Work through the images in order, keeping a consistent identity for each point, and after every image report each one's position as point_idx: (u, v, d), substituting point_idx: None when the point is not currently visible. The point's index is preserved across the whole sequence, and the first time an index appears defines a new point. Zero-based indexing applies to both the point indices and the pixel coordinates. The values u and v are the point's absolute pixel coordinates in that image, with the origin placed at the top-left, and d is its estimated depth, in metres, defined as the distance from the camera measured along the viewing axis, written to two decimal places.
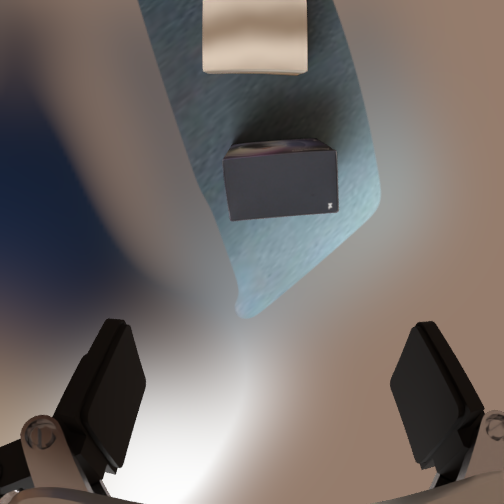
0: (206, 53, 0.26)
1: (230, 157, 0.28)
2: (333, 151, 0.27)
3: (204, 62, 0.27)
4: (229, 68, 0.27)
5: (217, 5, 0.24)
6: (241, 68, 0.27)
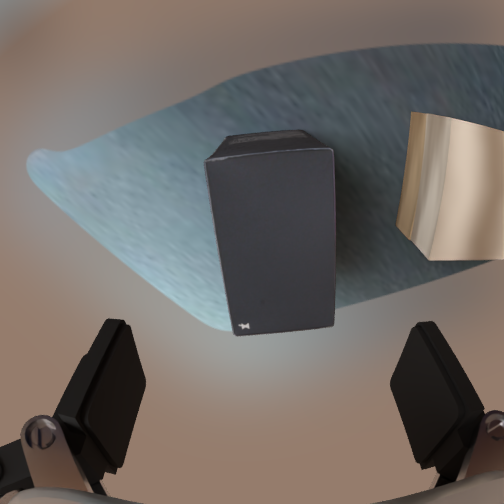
0: (471, 128, 0.16)
1: (333, 162, 0.14)
2: (332, 323, 0.18)
3: (461, 122, 0.16)
4: (449, 156, 0.17)
5: None
6: (446, 173, 0.17)
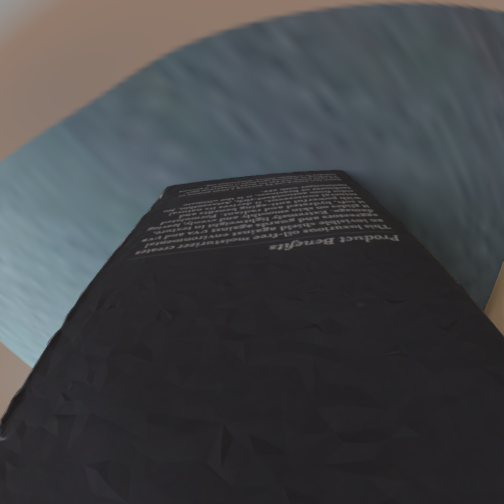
0: None
1: None
2: None
3: None
4: None
5: None
6: None
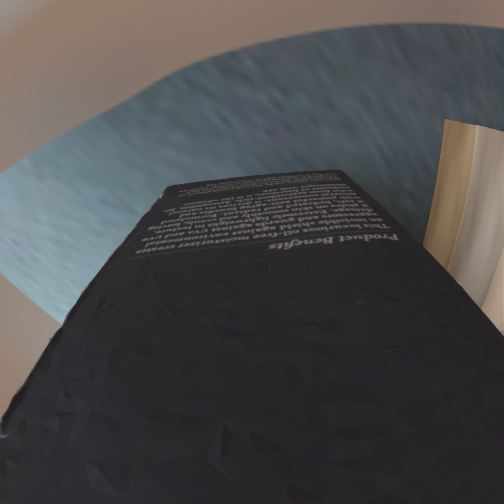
0: None
1: None
2: None
3: None
4: None
5: None
6: None
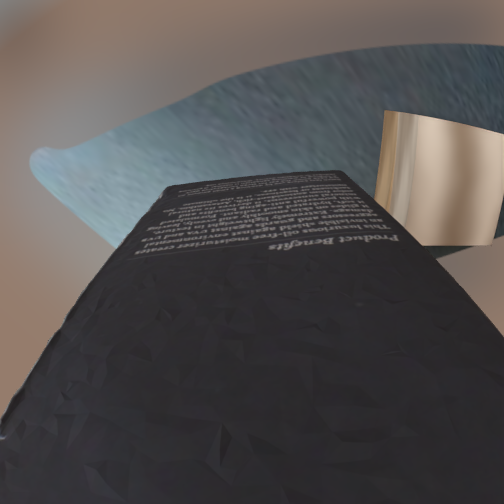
0: (439, 123, 0.19)
1: None
2: None
3: (428, 119, 0.18)
4: (417, 150, 0.20)
5: (488, 148, 0.19)
6: (415, 165, 0.20)
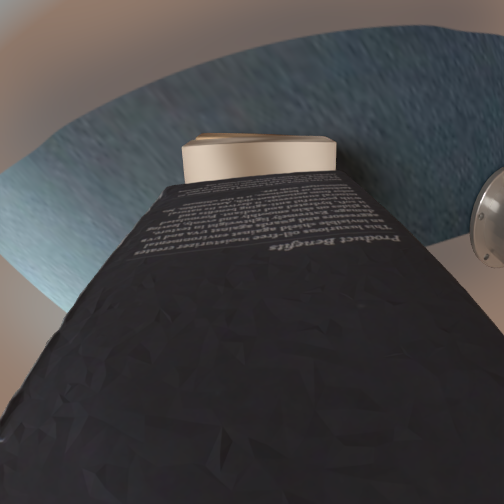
0: (209, 150, 0.20)
1: None
2: None
3: (195, 148, 0.20)
4: None
5: (293, 163, 0.20)
6: None
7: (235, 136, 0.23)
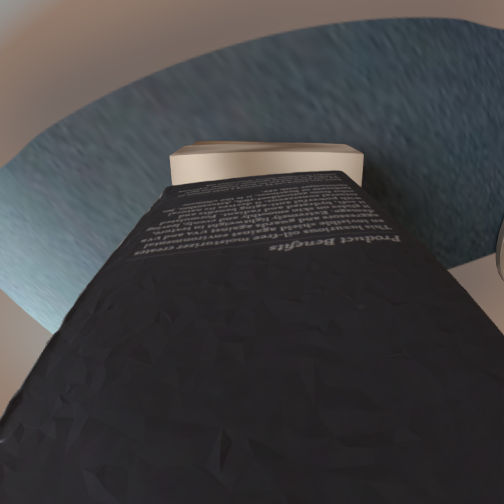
0: (204, 160, 0.16)
1: None
2: None
3: (186, 157, 0.16)
4: None
5: None
6: None
7: None
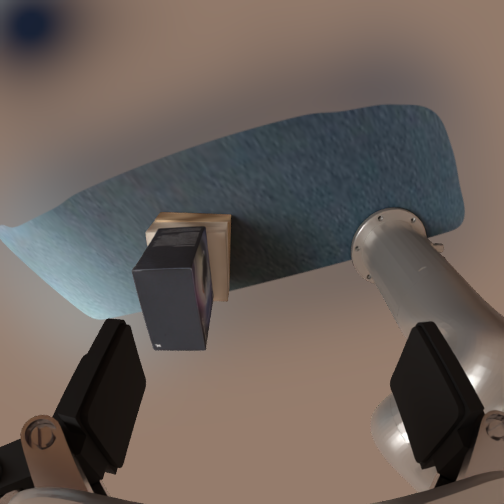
0: None
1: (193, 273, 0.30)
2: (204, 348, 0.33)
3: (152, 233, 0.38)
4: None
5: None
6: None
7: (177, 218, 0.42)
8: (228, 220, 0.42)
